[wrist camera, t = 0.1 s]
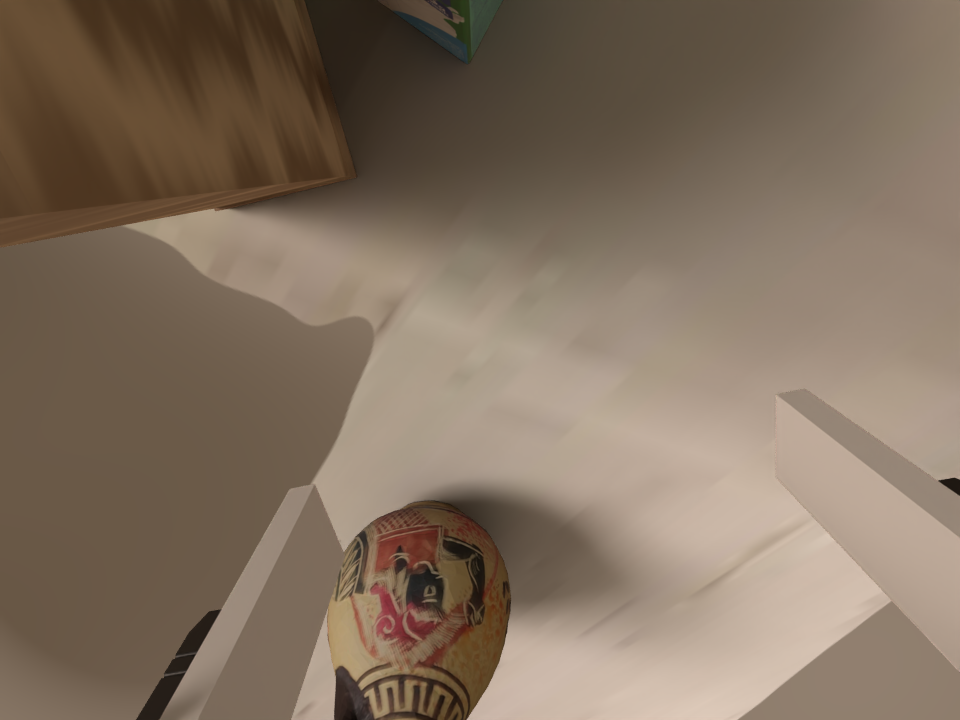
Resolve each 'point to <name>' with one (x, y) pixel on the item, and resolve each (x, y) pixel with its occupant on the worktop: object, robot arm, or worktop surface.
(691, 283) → the worktop surface
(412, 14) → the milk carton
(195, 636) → the robot arm
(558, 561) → the worktop surface
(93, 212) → the oak box
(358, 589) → the ceramic jug
